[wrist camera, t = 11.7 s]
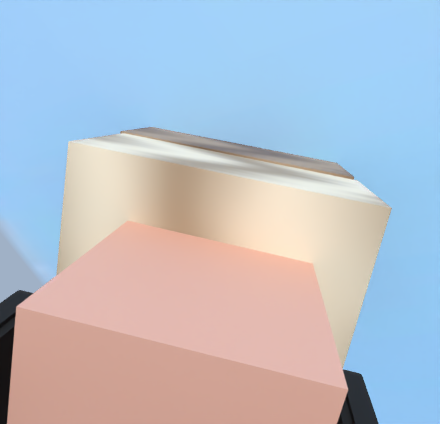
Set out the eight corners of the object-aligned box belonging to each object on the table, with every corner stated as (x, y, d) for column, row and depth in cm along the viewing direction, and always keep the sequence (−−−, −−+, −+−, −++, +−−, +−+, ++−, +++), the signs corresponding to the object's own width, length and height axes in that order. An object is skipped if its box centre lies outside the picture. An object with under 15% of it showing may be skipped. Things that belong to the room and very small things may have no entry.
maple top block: (357, 180, 17) (391, 208, 12) (300, 384, 19) (310, 475, 15) (123, 133, 18) (68, 141, 13) (98, 336, 20) (44, 407, 15)
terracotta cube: (312, 263, 13) (348, 389, 7) (268, 420, 14) (268, 630, 9) (127, 220, 13) (16, 306, 7) (104, 378, 15) (-4, 552, 9)
